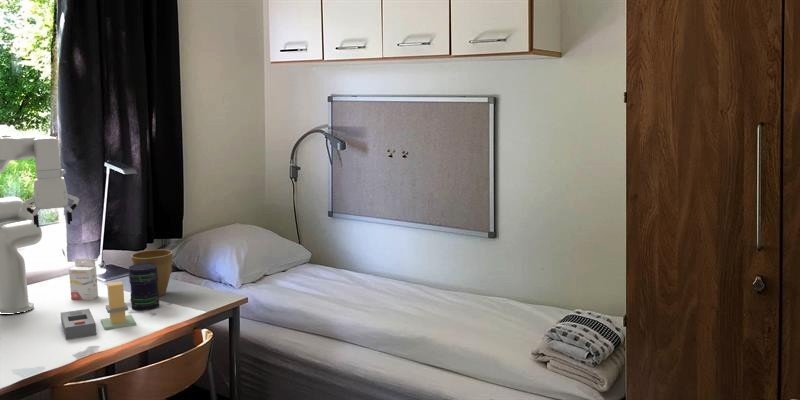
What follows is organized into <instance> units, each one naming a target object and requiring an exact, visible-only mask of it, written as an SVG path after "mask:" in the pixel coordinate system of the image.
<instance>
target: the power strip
mask: <svg viewBox="0 0 800 400" xmlns="http://www.w3.org/2000/svg"><path fill="white" fill-rule="evenodd" d="M60 321H61V322H60V323H61V327H62V330H63V333H64V337H65V340H74V339H79V338H84V337H85V338H86V337H91V336H92V337H93V336H96V335H97V324H96V321H95V319H94V316H93V314H92V312H91V309H90V308H84V309H78V310H77V309H76V310H70V311H63V312H60Z"/></svg>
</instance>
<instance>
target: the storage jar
mask: <svg viewBox="0 0 800 400" xmlns="http://www.w3.org/2000/svg"><path fill="white" fill-rule="evenodd" d="M128 278H129V283H130V284H129V285H130V303H131V310H133V311H136V312H137V311H138V312H147V311H151V310H155V309H158V308H159V307H160V306H161V305H160V296H159V291H158V285H157V281H158V272H157V265H156V264H152V263H143V264H136V265H133V264H132V265H130V266H128Z"/></svg>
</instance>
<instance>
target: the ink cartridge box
mask: <svg viewBox="0 0 800 400" xmlns="http://www.w3.org/2000/svg"><path fill="white" fill-rule="evenodd" d="M74 264H75V266H73V267H70V268H69V269H68V272H69V273H68V274H69V286H70V298H71V300H88V301H89V300H94V299H95V298H97V297H98V296H99V289H98V277H97V276H98V275H97V266H96V259H95V258H74Z"/></svg>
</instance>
